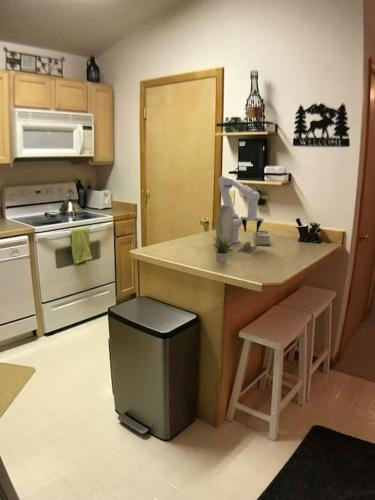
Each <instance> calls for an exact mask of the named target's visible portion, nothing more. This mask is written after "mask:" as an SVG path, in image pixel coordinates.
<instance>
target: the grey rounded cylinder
mask: <svg viewBox="0 0 375 500" xmlns="http://www.w3.org/2000/svg"><path fill="white" fill-rule="evenodd" d="M218 210H219V212H218V217H217V221H216V230H215V231H216V232H215V233H216V235H215V239H216V240H217V241H218V242H219V240H218V238H217V236H219V238H220V241H223V243H224V241H225V238H226V242H227V241H229V240H230V239H231V238H232V239H231V240H230V241H229V242H228V243H227V245H230V246H231V247H232V246H233V243H232V241H233V218H232V209H231V207H230V206H229V205H224V204H221V206H220V207H219V209H218ZM222 239H224V240H222ZM216 240H215V242H216V243H217V241H216ZM226 242H225V243H226ZM216 243H215V244H216ZM216 245H218V243H217V244H216ZM230 246H228V247H229V249H231V247H230ZM218 247H219V245H218ZM228 247H227V248H228ZM219 248H220V247H219Z"/></svg>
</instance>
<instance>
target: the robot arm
mask: <svg viewBox="0 0 375 500" xmlns="http://www.w3.org/2000/svg"><path fill="white" fill-rule="evenodd" d="M217 182H218V187H219V191H220V195H221V199H222V202H223V205H229V206H230V207H231V209H232V218H233V237H234V238H233V241H232V244H233V243H234V244H237V243H239V242H240V239H239V230H240V227H241V226H243V231H244V232H245V233H246V232H247V225H248V223H247V222H248V221H250V222H251V221H252V222H256V233H258V231H260V227H261V225H262V223H263V222H265V221H264V218H263V217H258V204H259V203H258V202H259V200H260V199H261V194H260V193H259V191H257V190H256V191H255V190H254V189H252V188H250V187H249V185H244V184H242V182H240V181H238V179H237V178H236V177H235V176H233V175H222V176H220V177H219V179H218V181H217ZM232 187H235V188H236V189H238V190H239V192H240V194H242V195H243V196H245V197H246V200H247V204H248V205H247V216H239V214H237V213H236V212H235V207H234V205H233V201H232V197H231V195H230V190H231V189H232Z"/></svg>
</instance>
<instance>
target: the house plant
mask: <svg viewBox="0 0 375 500" xmlns="http://www.w3.org/2000/svg"><path fill="white" fill-rule="evenodd" d="M210 236H211V237H212V235H210ZM217 238H218V240H219V242H218V241H217V240H216V238H215V237H213V238H212V241H213V242H214V243H213V244H212V246H213V247H214V249H213V250H216V251H215V252H214V253H215V262H216V264H217V263H219V264H218V265H226V264H227V261H228V257H229V250H230V248H231V247H232V245H231V246H230V245H227V243H228V242H229V241H230V240H231V239H232V238H231V239H230V240H229V241H227V242H226V238H225V241H224V243H223V241H220V238H219V236H217ZM233 238H234V237H233ZM222 240H224V239H222ZM216 241H217V243H218V245H219V247H220V248H219V247H218V245H217V243H216ZM225 242H226V243H225ZM228 246H230V248H229V247H228ZM227 247H228V248H227ZM225 263H226V264H225Z"/></svg>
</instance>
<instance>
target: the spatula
mask: <svg viewBox="0 0 375 500" xmlns="http://www.w3.org/2000/svg"><path fill="white" fill-rule="evenodd" d="M254 245H255V243H253V244H252V243H251V241H246V242H245V243H244V244H243V246H244V248H243V250H246V251H248V250H249V249H250V248H253V247H254Z"/></svg>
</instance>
